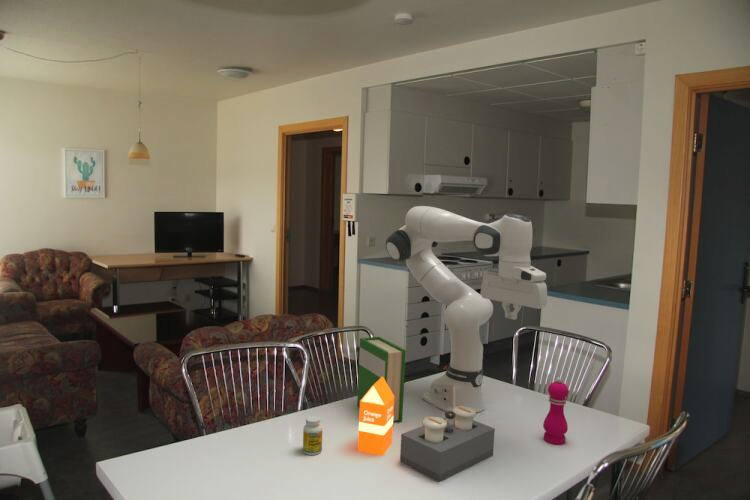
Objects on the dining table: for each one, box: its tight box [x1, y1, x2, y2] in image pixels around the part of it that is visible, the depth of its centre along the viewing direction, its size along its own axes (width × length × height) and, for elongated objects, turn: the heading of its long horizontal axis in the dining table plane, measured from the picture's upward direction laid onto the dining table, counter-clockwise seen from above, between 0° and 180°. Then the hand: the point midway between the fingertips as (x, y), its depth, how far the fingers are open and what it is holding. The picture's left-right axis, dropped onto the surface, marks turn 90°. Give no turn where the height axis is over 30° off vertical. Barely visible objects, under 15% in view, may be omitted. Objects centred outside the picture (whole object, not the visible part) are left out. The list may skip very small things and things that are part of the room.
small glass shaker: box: [444, 411, 456, 433], centre depth 158 cm, size 3×3×5 cm
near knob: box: [422, 416, 447, 444], centre depth 154 cm, size 6×6×10 cm
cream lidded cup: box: [453, 406, 476, 432], centre depth 163 cm, size 6×6×10 cm
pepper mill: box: [542, 376, 570, 445], centre depth 174 cm, size 7×7×20 cm
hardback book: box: [356, 336, 407, 424], centre depth 188 cm, size 18×7×24 cm, turn 29°
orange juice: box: [357, 376, 394, 456], centre depth 163 cm, size 8×9×20 cm
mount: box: [399, 416, 496, 483], centre depth 159 cm, size 14×24×8 cm, turn 134°
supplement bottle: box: [302, 415, 323, 456], centre depth 159 cm, size 5×5×10 cm
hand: (510, 318), depth 163 cm, fingers closed
